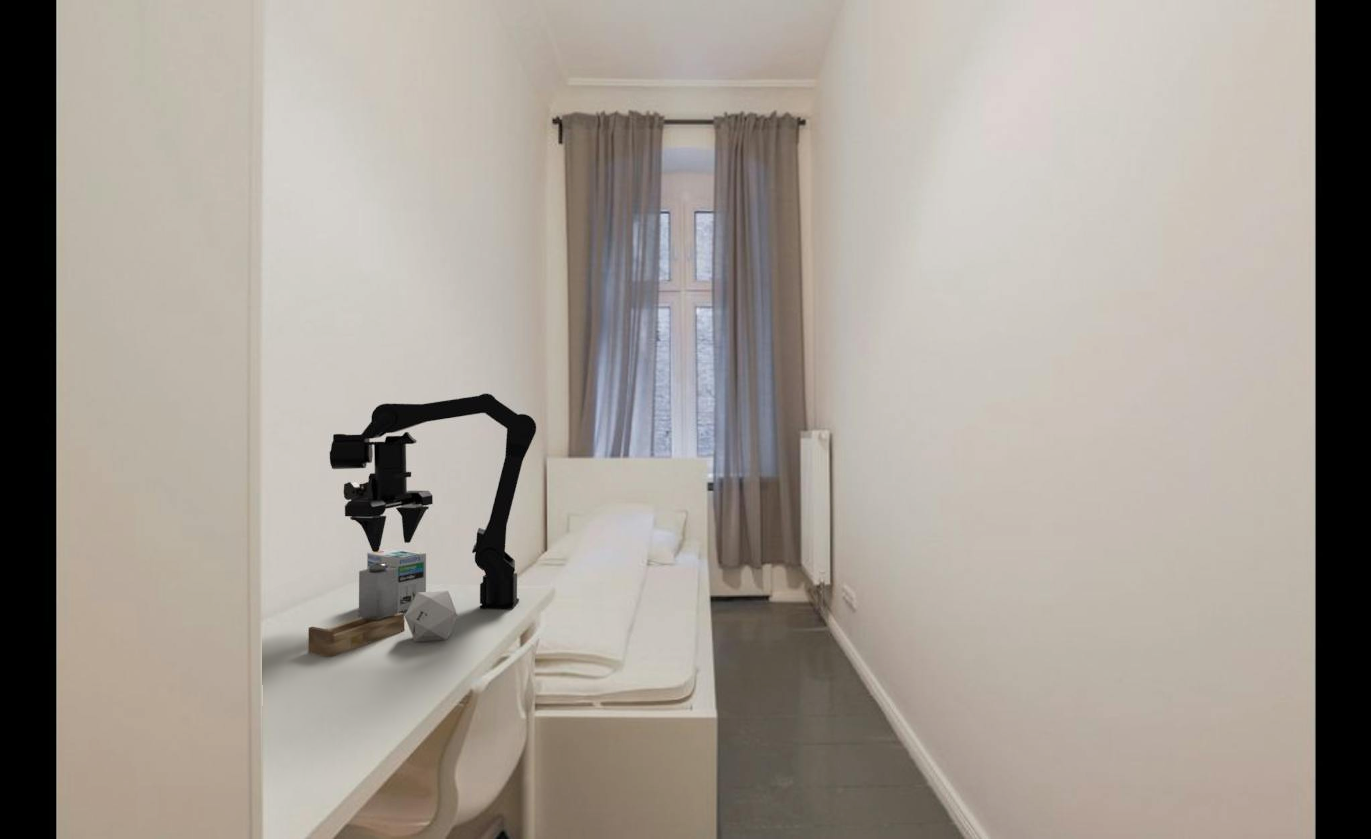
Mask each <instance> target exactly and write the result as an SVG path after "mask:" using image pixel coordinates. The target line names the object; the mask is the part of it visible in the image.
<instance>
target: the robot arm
mask: <svg viewBox="0 0 1371 839" xmlns="http://www.w3.org/2000/svg"><path fill="white" fill-rule="evenodd" d="M479 414H485V415H486V416H489V417H490V418H491V419H493V421H496V422H497V423H498V424H499V425H501V426H502V427H504V428H506V437H505V438H506V440H505V441H506V442H505V458H504V462H503V464H502V465H503V466H502V468H501V473H500V476H499V481H498V484H497V485H498V486H497V489H496V491H495V492H496V493H495V497H494V501H493V505H492V507H491V508H492V509H491V513H490V517H489V520H488V523H487V524H486V527H485V529H483V528H481V527H478V529H477V531H476V532H477V533H476V541H475V544H474V545H473V547H472V551H471V552H472V554H474V563H475V564H476V566H477V567H478V568H479V569H480V570H482V571H483V572H484V575H482V582H481V583H479V604H480V606H479V609H480V610H512V609H514V607H516V605H517V604H518V603H519V602H520V598H518V573H517V572H515V570H516V561H515V559H514V558H513V557H512V556H511V555H509V554H508V553H507V552H506V540H507V539H506V538H507V525H508V523H509V522H508V521H509V517H510V513H511V509H512V505H513V501H514V497H515V493H516V489H517V485H518V481H519V477H520V473H521V469H522V465H523V461H524V459H525V457H526V455H527V452H528V451H529V449H530V446H531V444H532V441H533V439H534V438H535V435H536V433H537V424H536V422H535V420H534V419H533V417H531V416H530V415H528V414H524V413H520V414H519V413H516V412H515V411H514V410H512V409H511V408H509V407H508V406H507V405H505V404H503V402H501V401H499V400H498V399H497V398H496V397H495V396H494V395H492V394H490V393H482V394H479V395H474V396H469V397H468V396H467V397H461V398H455V399H454V398H453V399H447V400H442V401H435V402H427V403H382V404H380V405H377V406H376V407H375V408H374V410H373V411H372V414H371V419H370V420H371V421H370V423H368V425H367V426H366V428H364V430H363V431H362V433H361V434H345V433H335V434H333V435H332V442H331V445H330V447H331V448H330V451H329V463H330V466H331V469H332V470H349V469H351V470H352V469H354V470H355V469H366V467H367V465H368V464H372V462H373V460H374V472H373V473H372V472H371V473H369V475H368V480H367V482H363V483H358V481H356V480H355V481H348V482H346V483H344V485H343V497H344V499H345V500H347V501H348V502H347V503H346V504H345V505H344V516H345V517H349V518H350V520H351V521H355V522H356V523H358V524H359V525H360V526H361V527H362V528H361V529H363V532H364V533H365V536H366V538H367V541H368V543H369V546H370V548H371V552H378V551H380V548H381V545H382V544H381V543H382V540H383V539H382V538H383V534H384V529H385V524H386V521H387V520H386V519H387V515H384V514H385V511H386V510H388V509H392V508H395V509H396V510H397V512H398V514H400V516H401V524H402V536H403V541H404V543H405V544H407V543H408V544H409V543H411V541H412V539H413V537H414V535H415V532H416V530H417V528H418V526H419V524H420V522H421V520H422V519H423V517H424V515H425V514H426V512H427V510H429V506H430V505H433V500H434V499H433V497H434V496H433V494H432V493H431V492H430V491H429V490H407V488H408V487H407V485H408V484H407V482H408V481H407V478H411V477H412V471H407V445H415V444H416V443H417V439H415V438H414V437H412V435H411V434H410V432H408V431H405V432H404V433H403V434H402V435H387V436H386V437H385V439H384V441H370V440H371V439H377V438H381V437H383V436H385V435H386V434H392V433H397V432H401V431H404V430H407V429H410V428H412V427H415V426H419V425H421V424H425V423H426V422H427V423H428V422H433V421H441V420H447V419H453V418H460V417H465V416H473V415H479ZM373 449H374V450H373ZM373 453H374V454H373ZM373 455H374V458H373Z"/></svg>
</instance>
